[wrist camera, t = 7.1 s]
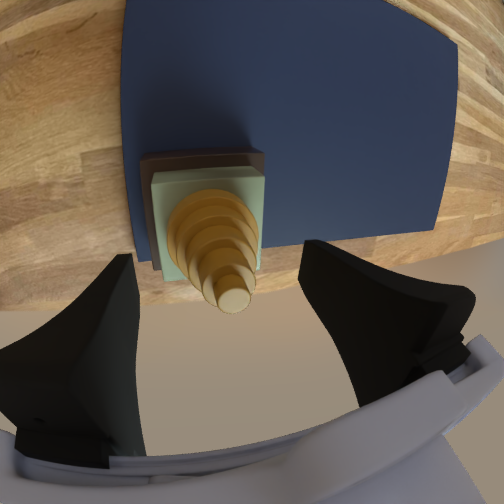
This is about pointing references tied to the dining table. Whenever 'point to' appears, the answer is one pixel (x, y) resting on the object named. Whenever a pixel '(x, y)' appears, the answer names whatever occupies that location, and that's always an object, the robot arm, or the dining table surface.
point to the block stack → (192, 180)
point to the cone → (215, 247)
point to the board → (296, 108)
